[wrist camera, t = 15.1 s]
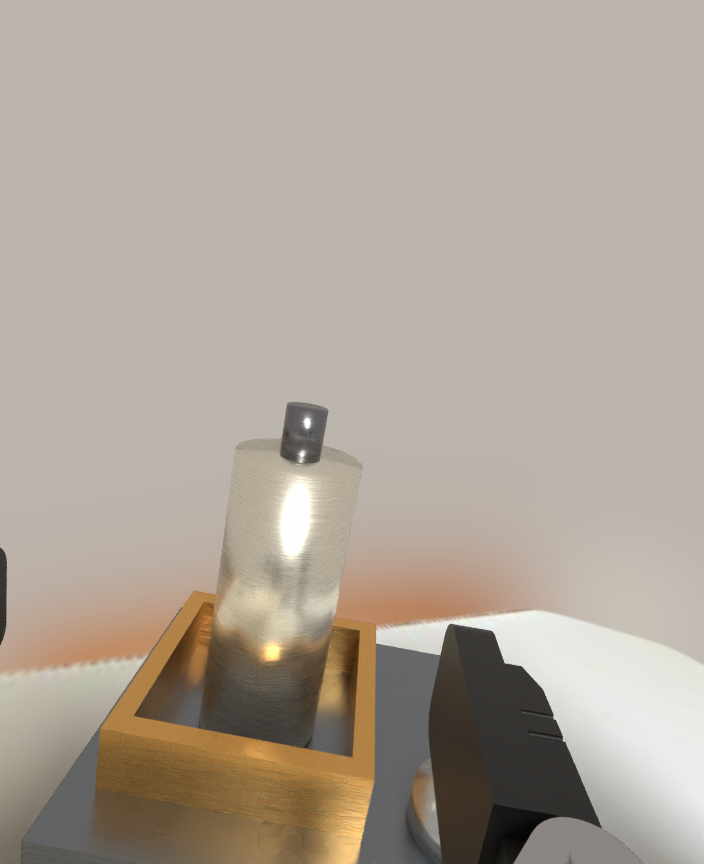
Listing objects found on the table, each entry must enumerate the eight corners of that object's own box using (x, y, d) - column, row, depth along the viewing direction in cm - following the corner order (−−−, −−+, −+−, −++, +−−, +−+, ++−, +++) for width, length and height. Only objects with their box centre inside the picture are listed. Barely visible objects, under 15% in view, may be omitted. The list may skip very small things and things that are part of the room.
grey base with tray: (473, 739, 31) (503, 626, 30) (546, 1063, 18) (608, 886, 16) (172, 683, 32) (186, 567, 30) (15, 960, 18) (25, 775, 16)
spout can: (320, 688, 26) (372, 408, 23) (306, 773, 21) (370, 432, 18) (218, 669, 26) (257, 387, 23) (182, 750, 21) (226, 405, 18)
